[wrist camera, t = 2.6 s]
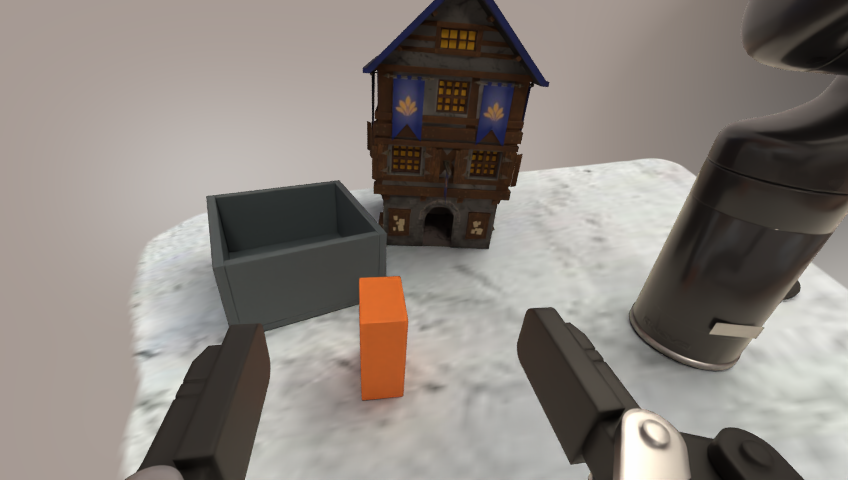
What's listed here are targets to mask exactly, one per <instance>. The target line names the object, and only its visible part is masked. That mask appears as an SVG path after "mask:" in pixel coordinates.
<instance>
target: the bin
mask: <svg viewBox="0 0 848 480" xmlns="http://www.w3.org/2000/svg"><path fill="white" fill-rule="evenodd" d="M206 198H207V209H208V221H209V233H210V244H211V255H212V267H213V271H214V275H215V278H216V282H217V286H218V289H219V293H220V296H221V300H222V303H223V307H224V310H225V314H226V317H227V321H228V324H229V327H230V326H231V325H236V324H254V323H261V324H262V326H263V329H264V331H267V330H270V329H274V328H277V327H281V326H284V325H288V324H291V323H295V322H298V321H301V320H305V319H308V318H312V317H315V316H319V315H322V314H325V313H329V312H332V311H336V310H339V309H343V308H346V307H350V306H353V305H356V304H359V278H367V277H386V241H387V233H386V232H385V231H384V230H383V228H382V227H381V226H380V225H379V224H378V223H377V222H376V221H375V220H374V218H373V217H372V216H371V215H370V214H369V213H368V212H367V211H366V210H365V208H364V207H363V206H362V205H361V204H360V203H359V202H358V201H357V200H356V198H355V197H354V196H353V195H352V194H351V193H350V192H349V191H348V189H347V188H346V187H345V186H344V185H343V184H342V183H341V182H340V181H339V180H338V181H330V182H321V183H313V184H306V185H296V186H288V187H280V188H271V189H263V190H255V191H246V192H238V193H229V194H221V195H213V196H207V197H206Z"/></svg>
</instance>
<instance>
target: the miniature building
mask: <svg viewBox="0 0 848 480" xmlns="http://www.w3.org/2000/svg"><path fill="white" fill-rule="evenodd" d="M376 70H377V72H375V71H376ZM363 73H370V75H372V127H371V123H370V122H368V121H367V135H368V136H367V137H368V138H367V140H368V141H367V142H368V143H367V144H368V145H367V146H368V147H367V149H368V150H370V156H371V158H372V179H375V180H376V181H375V182H374V194H381V195H382V199H383V200H384V202H383V212H380V217H379V225H380V226H381V227H382V228H383V230H384V231H385V232H386V233H387V241H386V245H409V246H448V247H460V248H486V249H489V244H490V239H491V234H492V231H493V230H494V227H493V224H494V219H495V214H496V209H497V204H499V203H500V200H509V198H510V193H511V192H510V190H509V189H508V187H509V186H510V185H511V186H510V187H513V186H516V182H517V178H518V173H519V168H520V164H521V158H522V154H520V155H517V153H516V152H518V149H519V147H518V146H517V144H521V140H522V135H523V133H522V132H521V130H522V128H523V125H524V122H523V121H524V116H525V112H526V107H527V103H528V98H529V93H530V89H531V87H533V86H534V84H537V85H539V86H543V87H548V86H549V82H547V81H546V80H545V79H544V77H543V76H542V74H541V73H540V71H539V69H538V68H537V66H536V65H535V63H534V62H533V60H532V59H531V57H530V56H529V54H528V53H527V51H526V50H525V48H524V46H523V45H522V43H521V42H520V40H519V39H518V37H517V36H516V34H515V33H514V31H513V29H512V28H511V26H510V25H509V23H508V22H507V20H506V19H505V17H504V15H503V14H502V12H501V11H500V9H499V8H498V6H497V5H496V3H495V2H494V0H434V1H433V2H432V3H431V4H430V5H429V6H428V7H427V8H426V9H425V10H424V11H423V12H422V13H421V14H420V15H419V16H418V17H417V18H416V19H415V20H414V21H413V22H412V23H411V24H410V25H409V26H408V27H407V28H406V29H405V30H404V31H403V32H402V33H401V34H400V35H399V36H398V37H397V38H396V39H395V40H394V41H393V42H392V43H391V44H390V45H389V46H388V47H387V48H386V49H385V50H384V51H383V52H382V53H381V54H380V55H379V56H376V57H375V58H374V59H373V60H372V61H370V62H369V63H368V64H367V65H366V66H364V67H363ZM375 73H377V83H378V105H377V108H376V110H375V119H376V121H374V86H375V85H374V84H375ZM530 82H532V83H531V84H530ZM514 166H515V167H514ZM513 171H514V172H513ZM512 176H513V177H512ZM511 180H512V182H511ZM492 229H493V230H492Z"/></svg>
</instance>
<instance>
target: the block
mask: <svg viewBox="0 0 848 480" xmlns="http://www.w3.org/2000/svg"><path fill="white" fill-rule="evenodd" d="M359 319H360V358H361V393H362V400H371V399H381V398H391V397H401V396H403V392H404V377H405V362H406V347H407V332H408V316H407V311H406V305H405V299H404V294H403V288H402V282H401V277H400V276H393V277H367V278H359Z"/></svg>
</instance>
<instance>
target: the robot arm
mask: <svg viewBox="0 0 848 480" xmlns="http://www.w3.org/2000/svg"><path fill="white" fill-rule="evenodd" d="M741 39H742V44H743V47H744V49H745V50H746V52H747V54H748V55H749V56H750V57H752V58H753V59H754V60H756V61H757V62H759V63H762V64H765V65H768V66H771V67H774V68H777V69H782V70H790V71H799V72H800V71H801V72H811V73H822V74H834V75H837V77H836V78H835V79H834V81H833V82H832V83H831V85H830V86H829V87H828V88H827V89H826V90H825V91H824V92H823V93H822V94H821V95H819V96H818V97H817V98H815V99H813V100H812V101H810V102H807V103H805V104H803V105H800V106H798V107H796V108H793V109H790V110H787V111H784V112H780V113H776V114H772V115H768V116H762V117H757V118H750V119H745V120H740V121H736V122H733V123H730V124H729V125H727V126H725V127H724V128H723V129H722V130H721V131H720V133H719V134H718V136H717V138H716V139H715V141H714V143H713V146H712V148H711V150H710V152H709V154H708V157H707V158H706V160H705V162H704V164H703V166H702V168H701V170H700V172H699V174H698V176H697V178H696V180H695V182H694V184H693V186H692V188H691V191H690V193H689V195H688V197H687V199H686V201H685V203H684V205H683V207H682V209H681V211H680V213H679V215H678V217H677V219H676V221H675V223H674V225H673V227H672V230H671V232H670V234H669V236H668V238H667V240H666V242H665V244H664V246H663V248H662V250H661V252H660V254H659V256H658V258H657V260H656V262H655V264H654V266H653V268H652V270H651V272H650V274H649V276H648V278H647V280H646V282H645V284H644V286H643V288H642V290H641V292H640V294H639V296H638V298H637V300H636V302H635V303H634V304H633V306H632V308H631V310H630V313H629V318H630V321H631V324H632V326H633V328H634V329H635V330H636V332H637V333H638V334H639V335H640V336H641V337H642V338H643V339H644V340H645V341H646V342H647V343H648V344H649V345H651V346H652V347H653V348H655V349H656V350H658V351H659V352H661V353H663V354H664V355H666V356H668V357H670V358H672V359H674V360H676V361H678V362H680V363H683V364H686V365H689V366H692V367H695V368H699V369H704V370H712V371H719V370H726V369H729V368H731V367H732V366H733V365H735V363H736V362H737V361H738V359H739V358H740V355H741V353H742V352H743V350H744V349H745V348H746V346H747V345H748V344H749V342H750V341H751V340H752V339H753V338H755V339H756V338H757V337H758V336H759V334H760V333H761V332H762V330H763V329H764V327H762V326H763V324H764V323H765V322H766V321H767V319H768V318H769V317H770V315H771V314H772V313H773V311H774V310H775V309H776V307H777V306H778V305H779V303H780V302H781V301H782V300H783V299H788V298H791V297H793V296H795V295H796V294H798V293H799V292H800V283H799V282H798V278H799V277H800V276H801V274H802V273H803V272H804V270H805V269H806V268H807V266H808V265H809V264H810V263H811V261H812V260H813V258H814V257H815V256H816V255H817V253H818V252H819V251H820V249H821V248H822V247H823V245H824V244H825V243H826V241H827V240H828V239H829V237H830V236H831V235H832V234H833V232H834V231H835V229H836V228H837V226H838V225H839V224H840V222H841V221H842V220H843V218H844V217H845V216H846V215H847V213H848V0H749V2H748V5H747V7H746V9H745V12H744V16H743V20H742V24H741ZM517 353H518V358H519V361H520V363H521V365H522V367H523V369H524V371H525V373H526V375H527V377H528V379H529V381H530V383H531V385H532V387H533V389H534V391H535V393H536V396H537V398H538V400H539V402H540V404H541V406H542V408H543V410H544V412H545V414H546V416H547V418H548V420H549V422H550V424H551V426H552V428H553V430H554V432H555V434H556V436H557V438H558V440H559V442H560V444H561V446H562V448H563V450H564V452H565V454H566V456H567V458H568V460H569V462H570V464H571V465H572V464H579V463H586V464H587V466H588V468H589V469H590V471H591V472H590V474H589V476H588V480H804V479H803V478H802V477H801V476H800V475H799V474H798V473H797V472H796V471H795V469H794V468H793V467H792V466H791V465H790V464H789V463H788V462H787V461H786V460H785V459H784V458H783V457H782V456H781V455H780V454H779V453H778V452H777V451H776V450H775V449H774V448H773V447H772V446H771V445H769V444H768V443H767V442H765V441H764V440H762V439H761V438H759V437H758V436H756V435H754V434H752V433H750V432H747V431H745V430H742V429H739V428H731V427H729V428H724V429H722V430H721V431H720V432H719V433H718V435H717V436H716V437H715V438H714V439H711V438H706V437H702V436H697V435H692V434H687V433H682V432H678V430H677V429H676V428H675V427H674V426H673V425H672V424H671V423H669V422H668V421H667V420H666V419H664V418H663V417H661V416H659V415H658V414H656V413H654V412H651V411H648V410H645V409H641V408H640V407H639V405H638V404H637V403H636V401H635V400H634V399H633V397H632V396H631V395H630V394H629V392H628V391H627V390H626V388H625V387H624V386H623V384H622V383H621V382H620V380H619V379H618V378H617V376H616V375H615V374H614V372H613V371H612V370H611V368H610V367H609V366H608V364H607V363H606V362H604V361H603V358H602V356H601V355H600V354H599V352H598V351H596V350H595V347H594V346H593V344H592V343H591V342H590V340H589V339H588V338H587V336H586V335H585V334H584V333H583V332H581V331H580V330H579V329H577V328H576V327H575V326H574V325H572V324H571V323H565V322H564V321H563V319H562V318H561V316H560V315H559V314H558V312H557V311H556V310H555V309H554V308H552V307H549V308H531V309H528V310H527V312H526V314H525V318H524V321H523V325H522V328H521V332H520V335H519V339H518V342H517ZM269 379H270V358H269V353H268V348H267V344H266V339H265V334H264V329H263V326H262V324H261V323H254V324H236V325H231V326H230V327H229V329H228V331H227V333H226V335H225V338H224V340H223V342H222V345H212V346H208V347H207V348H206V349H205V350H204V351H203V352H202V353H201V354H200V355H199V356H198V357H197V358H196V359H195V360H194V361H193V362H192V364H191V366H190V368H189V370H188V372H187V374H186V376H185V378H184V380H183V384H181V386H180V388H179V390H178V392H177V394H176V399H175V400H173V402H172V404H171V406H170V408H169V410H168V412H167V414H166V416H165V418H164V420H163V422H162V424H161V426H160V428H159V430H158V432H157V434H156V436H155V438H154V440H153V442H152V444H151V446H150V448H149V450H148V452H147V454H146V456H145V458H144V460H143V462H142V464H141V466H140V467H139V469H138V470H137V472H136V473H134V474H133V475H131V476H129V477H128V478H126V479H125V480H245V477H246V473H247V469H248V465H249V461H250V456H251V452H252V448H253V444H254V440H255V436H256V432H257V428H258V424H259V420H260V416H261V412H262V408H263V404H264V400H265V396H266V392H267V388H268V384H269Z"/></svg>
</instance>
